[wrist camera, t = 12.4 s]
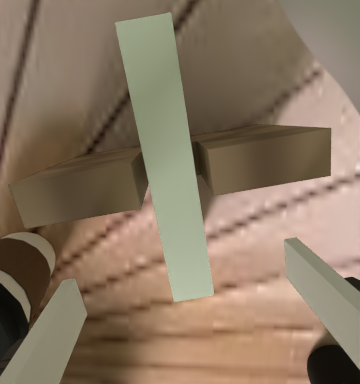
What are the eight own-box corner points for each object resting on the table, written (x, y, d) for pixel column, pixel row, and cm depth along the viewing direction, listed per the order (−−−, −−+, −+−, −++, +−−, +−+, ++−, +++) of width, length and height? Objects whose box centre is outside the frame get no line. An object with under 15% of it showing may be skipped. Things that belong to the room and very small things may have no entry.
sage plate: (173, 238, 30) (176, 312, 18) (138, 57, 24) (109, 0, 12) (197, 233, 30) (215, 306, 18) (168, 51, 24) (167, -11, 12)
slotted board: (85, 182, 27) (25, 228, 16) (78, 156, 26) (8, 184, 15) (262, 151, 27) (330, 175, 16) (260, 124, 26) (331, 128, 15)
